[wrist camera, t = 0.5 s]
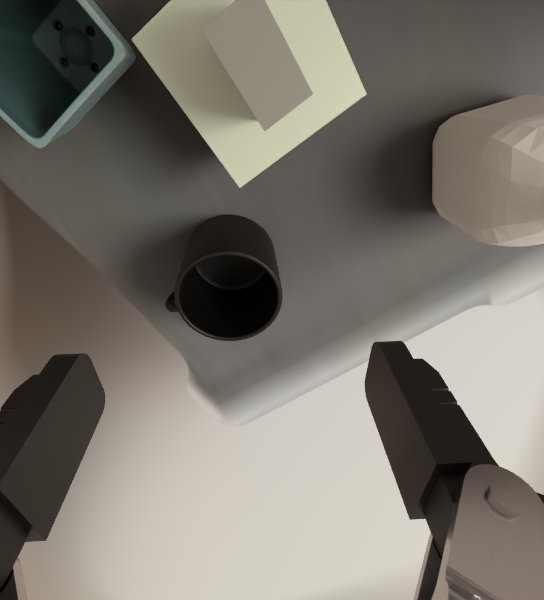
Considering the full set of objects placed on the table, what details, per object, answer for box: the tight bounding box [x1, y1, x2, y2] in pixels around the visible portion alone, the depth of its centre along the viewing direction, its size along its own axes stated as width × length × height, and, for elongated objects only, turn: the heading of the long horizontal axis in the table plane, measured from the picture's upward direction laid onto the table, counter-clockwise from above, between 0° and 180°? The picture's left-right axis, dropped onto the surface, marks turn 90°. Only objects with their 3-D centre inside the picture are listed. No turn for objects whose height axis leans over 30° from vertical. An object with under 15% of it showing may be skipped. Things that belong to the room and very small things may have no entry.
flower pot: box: [0, 0, 136, 148], centre depth 22 cm, size 9×9×9 cm
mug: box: [166, 215, 282, 341], centre depth 33 cm, size 9×12×9 cm
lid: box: [131, 0, 366, 188], centre depth 20 cm, size 11×11×8 cm
